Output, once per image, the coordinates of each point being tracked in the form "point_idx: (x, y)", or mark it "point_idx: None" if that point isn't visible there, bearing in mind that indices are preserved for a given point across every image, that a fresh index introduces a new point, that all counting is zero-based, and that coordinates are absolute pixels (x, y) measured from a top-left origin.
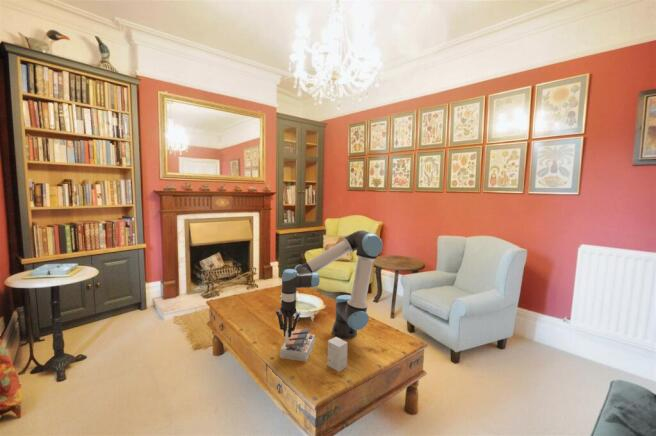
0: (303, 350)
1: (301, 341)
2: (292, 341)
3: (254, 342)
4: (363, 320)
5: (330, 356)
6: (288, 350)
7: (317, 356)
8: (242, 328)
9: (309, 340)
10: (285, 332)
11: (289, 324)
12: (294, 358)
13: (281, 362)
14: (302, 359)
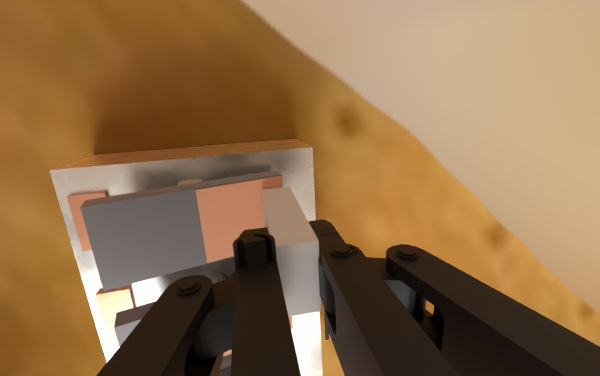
0: (98, 191)
1: (101, 240)
2: (228, 233)
3: (497, 234)
4: None
5: None
6: (238, 153)
7: (42, 241)
8: (584, 319)
9: None
10: (314, 235)
11: (266, 365)
12: (189, 147)
13: (268, 92)
14: (121, 153)
